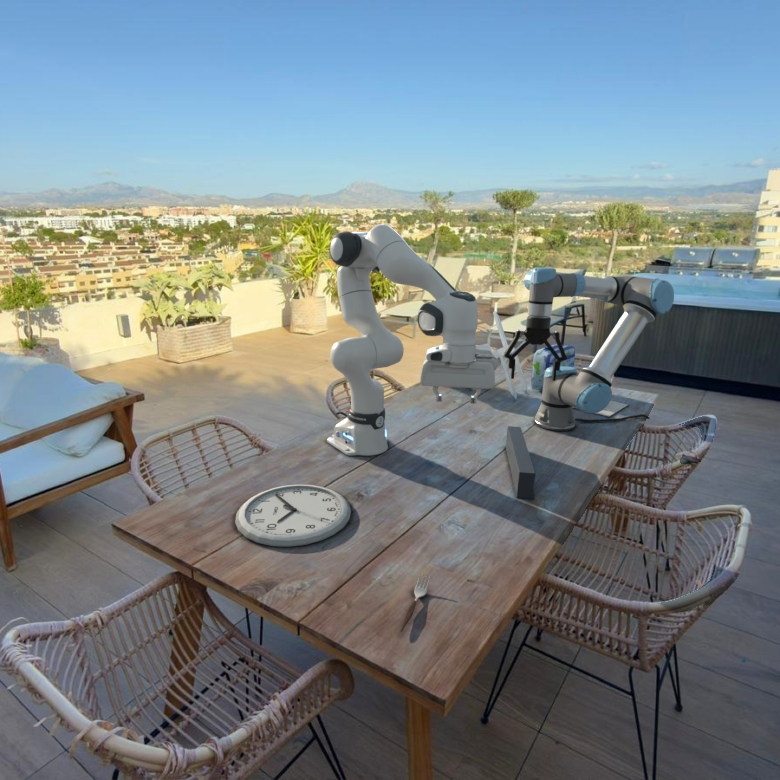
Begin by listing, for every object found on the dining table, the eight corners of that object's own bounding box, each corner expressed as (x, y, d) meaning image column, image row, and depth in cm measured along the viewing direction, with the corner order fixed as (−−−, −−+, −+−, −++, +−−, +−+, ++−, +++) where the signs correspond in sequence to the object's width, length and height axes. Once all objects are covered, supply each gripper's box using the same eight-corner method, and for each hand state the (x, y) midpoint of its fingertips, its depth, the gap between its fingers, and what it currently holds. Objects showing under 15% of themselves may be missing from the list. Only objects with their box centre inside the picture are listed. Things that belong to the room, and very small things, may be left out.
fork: (394, 632, 98) (394, 623, 98) (419, 581, 113) (419, 573, 112) (407, 636, 97) (407, 627, 97) (430, 584, 112) (431, 576, 111)
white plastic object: (461, 429, 252) (437, 405, 227) (444, 352, 274) (420, 323, 250) (535, 404, 240) (518, 377, 215) (510, 326, 262) (492, 293, 237)
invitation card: (608, 416, 214) (573, 407, 224) (608, 416, 214) (573, 408, 224) (628, 404, 229) (594, 396, 238) (628, 405, 229) (594, 397, 238)
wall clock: (351, 538, 125) (223, 542, 122) (351, 544, 125) (223, 548, 123) (350, 480, 153) (246, 482, 151) (350, 485, 154) (246, 487, 151)
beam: (505, 447, 183) (507, 426, 180) (518, 448, 182) (520, 426, 180) (516, 497, 149) (519, 472, 146) (532, 498, 148) (535, 473, 146)
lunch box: (547, 396, 238) (552, 351, 232) (526, 391, 246) (531, 347, 239) (574, 385, 256) (579, 343, 250) (554, 380, 263) (559, 340, 257)
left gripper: (497, 352, 142) (493, 400, 146) (422, 349, 145) (420, 396, 149) (499, 357, 136) (494, 407, 140) (420, 354, 139) (418, 403, 143)
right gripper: (576, 315, 172) (568, 377, 179) (499, 313, 175) (494, 374, 181) (581, 319, 165) (573, 383, 172) (501, 316, 168) (496, 380, 174)
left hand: (456, 401), depth 145 cm, fingers open, 8 cm apart
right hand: (532, 378), depth 177 cm, fingers open, 13 cm apart
